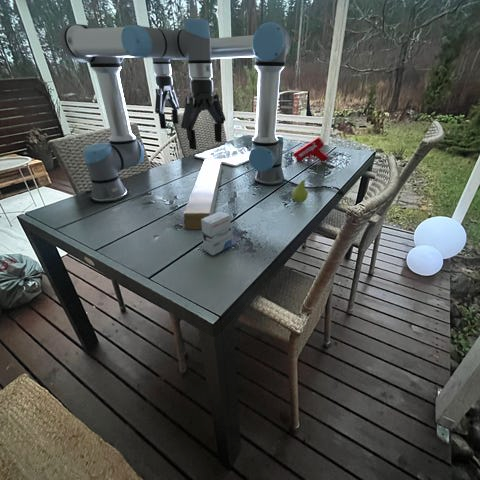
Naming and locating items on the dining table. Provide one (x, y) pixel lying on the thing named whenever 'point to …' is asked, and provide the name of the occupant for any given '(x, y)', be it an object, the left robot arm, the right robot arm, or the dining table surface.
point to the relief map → (227, 155)
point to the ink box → (216, 232)
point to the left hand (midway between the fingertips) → (206, 145)
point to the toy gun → (312, 151)
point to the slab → (203, 194)
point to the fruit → (300, 192)
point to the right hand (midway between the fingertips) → (170, 126)
